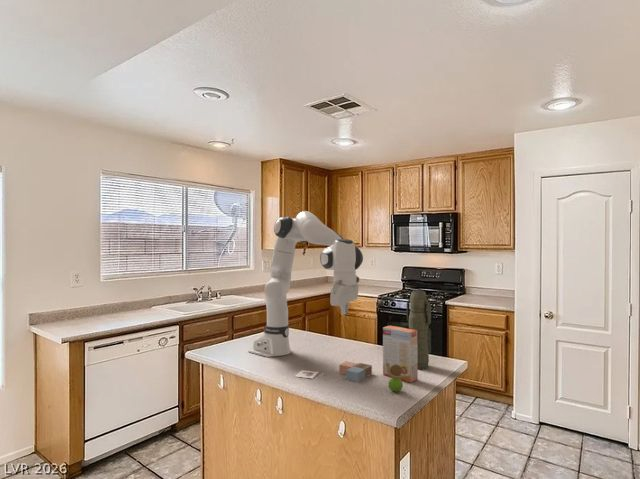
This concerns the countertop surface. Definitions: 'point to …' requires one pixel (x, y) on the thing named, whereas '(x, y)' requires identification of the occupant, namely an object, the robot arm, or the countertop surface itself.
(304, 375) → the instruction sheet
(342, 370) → the terracotta block
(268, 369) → the countertop surface
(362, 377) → the slate block
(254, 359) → the countertop surface
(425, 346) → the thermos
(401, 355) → the cracker box
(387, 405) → the countertop surface
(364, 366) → the base block
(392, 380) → the snail figurine
